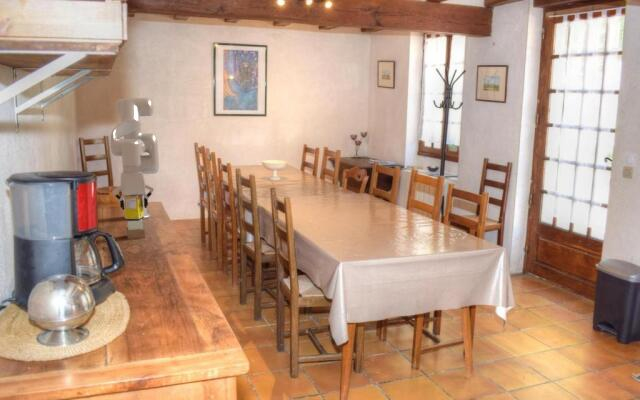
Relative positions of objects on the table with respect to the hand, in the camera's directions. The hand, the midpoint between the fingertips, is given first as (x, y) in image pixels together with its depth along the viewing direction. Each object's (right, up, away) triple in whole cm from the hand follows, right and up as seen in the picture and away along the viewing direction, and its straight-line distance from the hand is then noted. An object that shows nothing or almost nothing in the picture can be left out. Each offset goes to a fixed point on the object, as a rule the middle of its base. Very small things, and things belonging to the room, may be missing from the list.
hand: (134, 208), depth 254 cm
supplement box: (0, -5, +1) cm, 5 cm away
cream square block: (0, -9, +1) cm, 9 cm away
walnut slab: (0, -13, +2) cm, 13 cm away
